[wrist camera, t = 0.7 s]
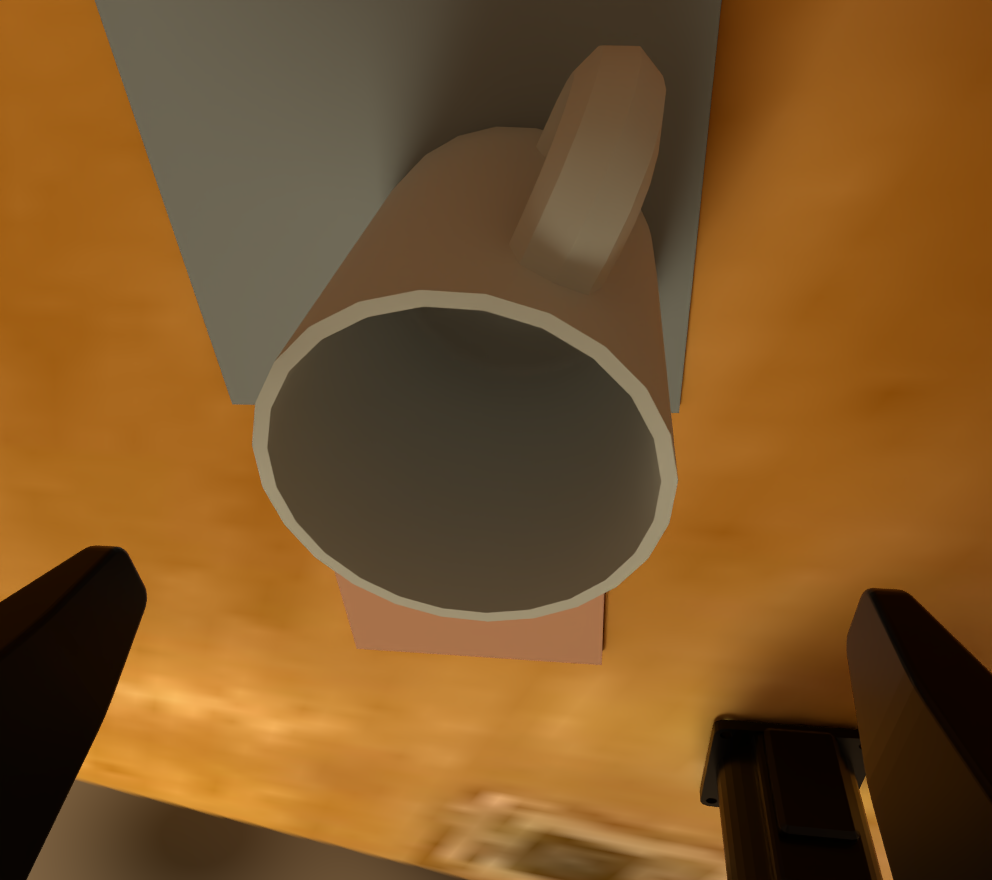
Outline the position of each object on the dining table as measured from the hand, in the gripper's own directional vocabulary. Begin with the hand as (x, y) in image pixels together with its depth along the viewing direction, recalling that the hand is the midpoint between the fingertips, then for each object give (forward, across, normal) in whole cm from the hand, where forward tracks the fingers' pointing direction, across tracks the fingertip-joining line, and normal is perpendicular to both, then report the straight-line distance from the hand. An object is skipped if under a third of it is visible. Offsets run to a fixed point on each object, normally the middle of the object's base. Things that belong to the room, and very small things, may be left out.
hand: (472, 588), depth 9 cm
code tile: (+13, +3, 0) cm, 13 cm away
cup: (+12, 0, 0) cm, 13 cm away
